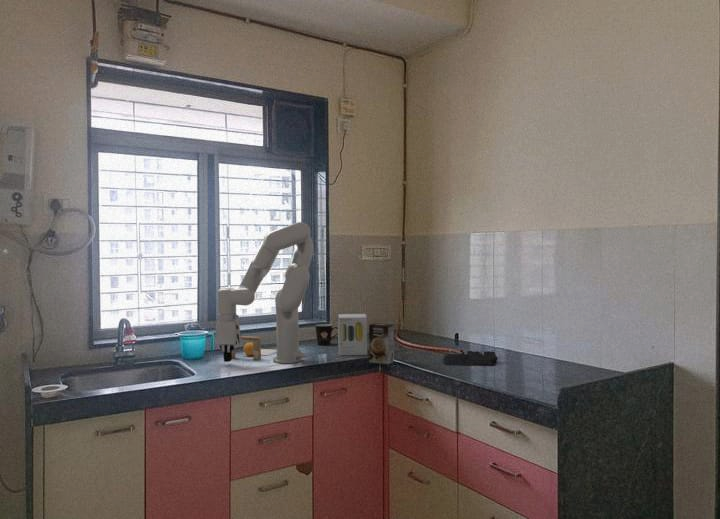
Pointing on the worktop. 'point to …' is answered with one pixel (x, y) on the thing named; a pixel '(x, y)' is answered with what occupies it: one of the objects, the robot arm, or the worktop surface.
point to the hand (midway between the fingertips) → (227, 361)
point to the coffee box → (381, 343)
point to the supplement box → (352, 334)
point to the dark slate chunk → (471, 359)
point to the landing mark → (267, 351)
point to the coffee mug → (324, 334)
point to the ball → (248, 349)
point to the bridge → (255, 347)
